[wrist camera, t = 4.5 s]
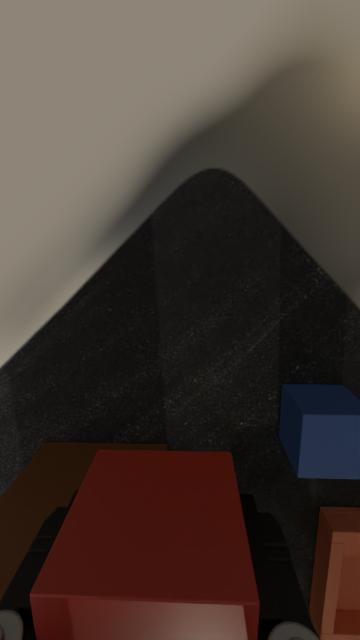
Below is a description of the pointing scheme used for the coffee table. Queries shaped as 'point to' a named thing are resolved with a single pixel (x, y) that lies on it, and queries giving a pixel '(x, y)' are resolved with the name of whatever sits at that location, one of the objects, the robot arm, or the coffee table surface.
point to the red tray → (337, 574)
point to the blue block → (321, 430)
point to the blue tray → (45, 495)
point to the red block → (150, 553)
